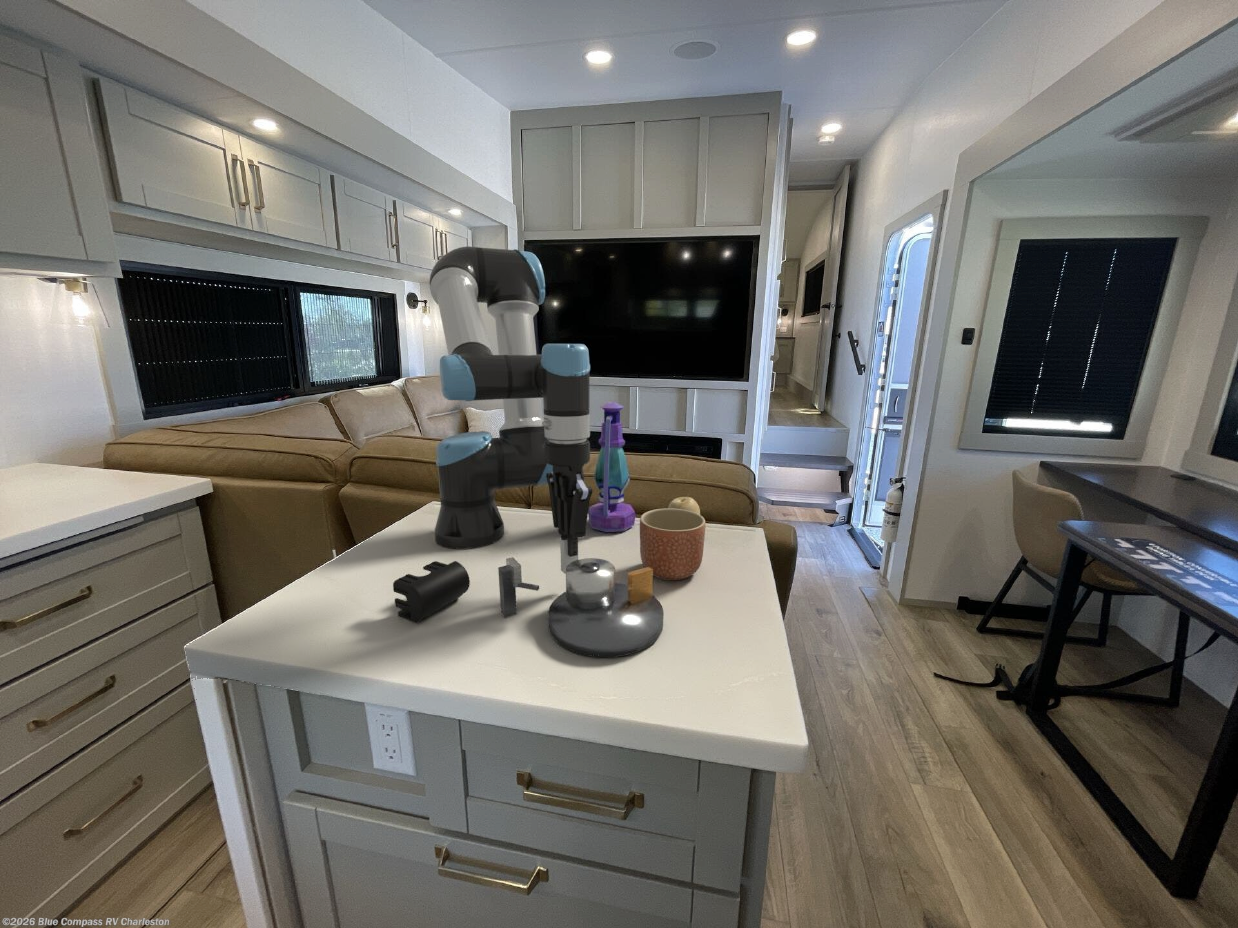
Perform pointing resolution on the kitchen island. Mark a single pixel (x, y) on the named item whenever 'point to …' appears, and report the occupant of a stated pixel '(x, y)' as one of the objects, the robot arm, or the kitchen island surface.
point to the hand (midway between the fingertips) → (569, 570)
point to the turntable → (610, 620)
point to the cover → (590, 583)
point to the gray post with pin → (511, 586)
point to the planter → (672, 542)
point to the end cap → (430, 589)
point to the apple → (685, 504)
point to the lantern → (611, 477)
